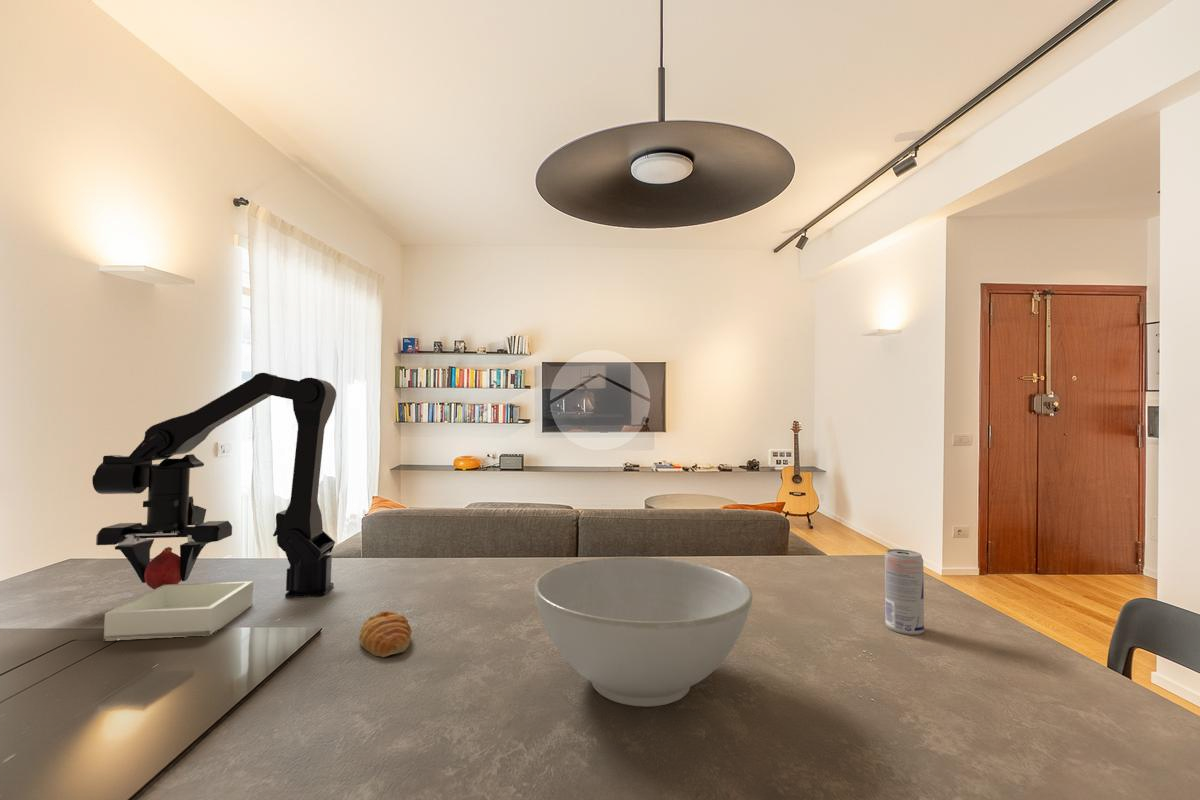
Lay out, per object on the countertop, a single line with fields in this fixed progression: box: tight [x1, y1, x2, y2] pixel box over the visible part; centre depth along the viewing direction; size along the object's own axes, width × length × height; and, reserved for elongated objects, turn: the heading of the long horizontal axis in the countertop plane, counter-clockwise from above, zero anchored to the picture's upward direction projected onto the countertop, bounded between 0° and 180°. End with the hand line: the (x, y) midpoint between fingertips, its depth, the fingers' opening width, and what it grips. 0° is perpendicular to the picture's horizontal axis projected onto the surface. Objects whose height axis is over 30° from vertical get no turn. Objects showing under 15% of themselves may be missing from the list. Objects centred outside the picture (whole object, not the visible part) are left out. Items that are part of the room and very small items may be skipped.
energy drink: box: [884, 548, 925, 636], centre depth 85 cm, size 5×5×12 cm
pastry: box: [358, 610, 413, 658], centre depth 76 cm, size 9×7×4 cm
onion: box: [144, 546, 182, 590], centre depth 95 cm, size 6×6×8 cm
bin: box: [103, 580, 254, 640], centre depth 84 cm, size 14×14×4 cm
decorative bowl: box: [533, 556, 753, 708], centre depth 67 cm, size 27×27×12 cm
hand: (165, 581), depth 95 cm, fingers closed on onion, 6 cm apart
